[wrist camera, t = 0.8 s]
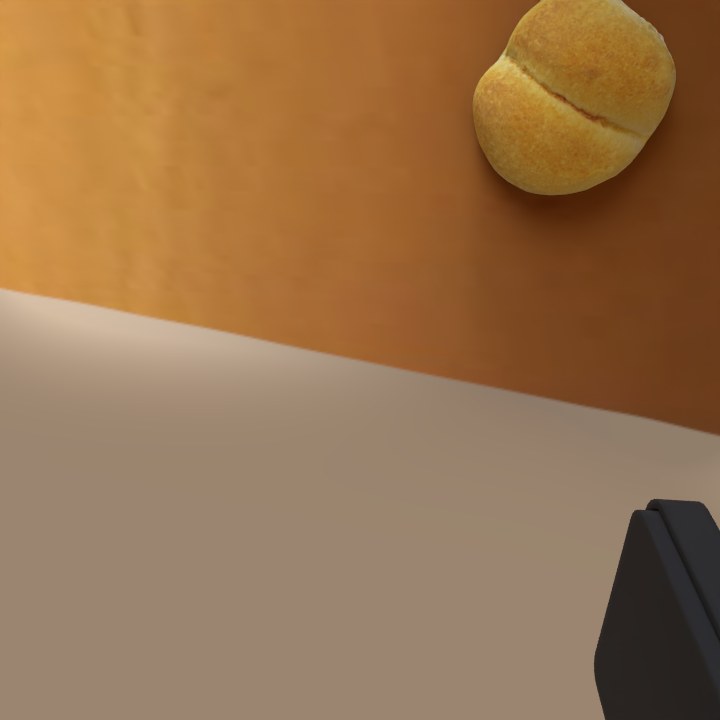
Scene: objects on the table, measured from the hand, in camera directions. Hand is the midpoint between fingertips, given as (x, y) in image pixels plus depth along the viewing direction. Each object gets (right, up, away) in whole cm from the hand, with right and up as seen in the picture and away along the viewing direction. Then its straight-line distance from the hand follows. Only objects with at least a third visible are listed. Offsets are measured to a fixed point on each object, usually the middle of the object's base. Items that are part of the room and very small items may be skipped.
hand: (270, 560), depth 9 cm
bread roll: (+11, +16, +24) cm, 31 cm away
